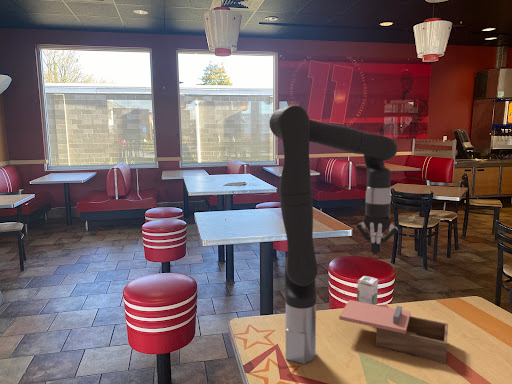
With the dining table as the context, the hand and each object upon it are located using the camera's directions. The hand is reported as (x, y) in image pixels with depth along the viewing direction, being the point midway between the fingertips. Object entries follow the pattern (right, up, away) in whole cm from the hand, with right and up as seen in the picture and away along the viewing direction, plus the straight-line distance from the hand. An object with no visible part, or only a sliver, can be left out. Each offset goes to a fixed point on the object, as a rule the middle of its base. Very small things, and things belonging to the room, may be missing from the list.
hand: (375, 253), depth 123 cm
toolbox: (+11, -29, 0) cm, 31 cm away
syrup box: (+2, -27, +19) cm, 33 cm away
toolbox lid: (+1, -22, +4) cm, 22 cm away
